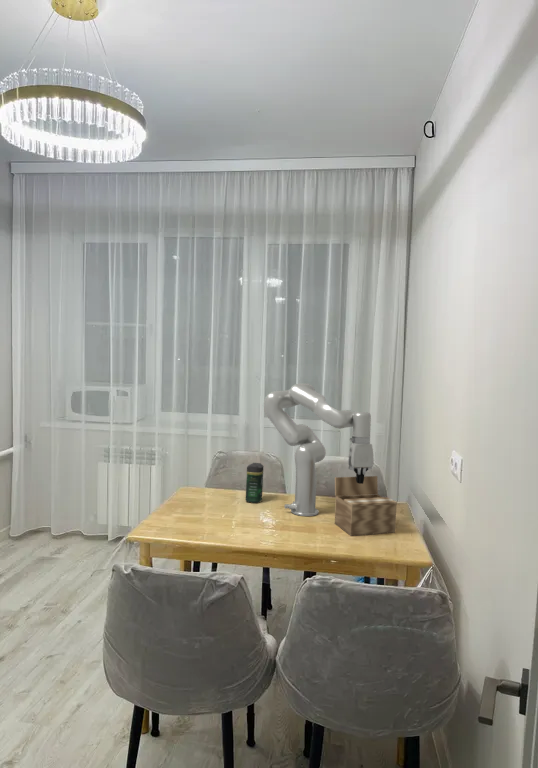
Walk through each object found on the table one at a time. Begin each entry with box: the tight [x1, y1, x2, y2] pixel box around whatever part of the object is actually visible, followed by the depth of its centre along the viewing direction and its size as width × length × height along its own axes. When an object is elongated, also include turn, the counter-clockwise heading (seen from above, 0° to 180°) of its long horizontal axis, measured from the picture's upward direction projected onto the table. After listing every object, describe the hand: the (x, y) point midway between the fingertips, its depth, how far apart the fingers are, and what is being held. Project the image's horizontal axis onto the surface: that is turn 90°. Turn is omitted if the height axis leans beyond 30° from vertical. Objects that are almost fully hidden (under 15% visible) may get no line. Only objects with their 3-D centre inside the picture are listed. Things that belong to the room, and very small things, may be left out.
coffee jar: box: [245, 462, 264, 504], centre depth 256 cm, size 10×8×19 cm
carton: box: [334, 494, 398, 537], centre depth 219 cm, size 20×16×13 cm
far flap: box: [334, 475, 379, 497], centre depth 230 cm, size 20×8×6 cm
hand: (359, 482), depth 225 cm, fingers closed
